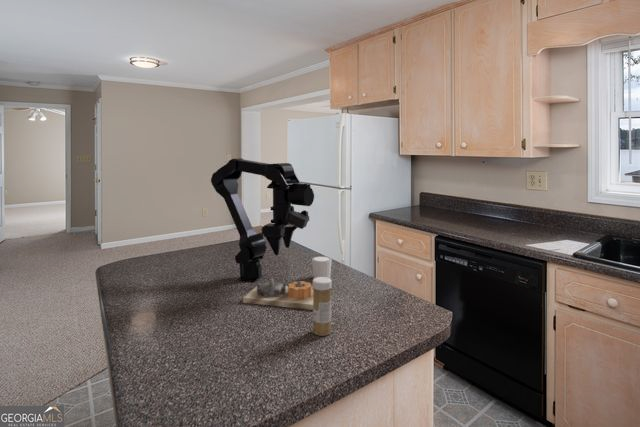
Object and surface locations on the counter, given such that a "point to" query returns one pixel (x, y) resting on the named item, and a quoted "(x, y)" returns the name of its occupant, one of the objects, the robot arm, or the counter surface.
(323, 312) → the sprinkles bottle
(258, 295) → the gear board
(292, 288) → the orange gear
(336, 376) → the counter surface
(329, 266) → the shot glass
